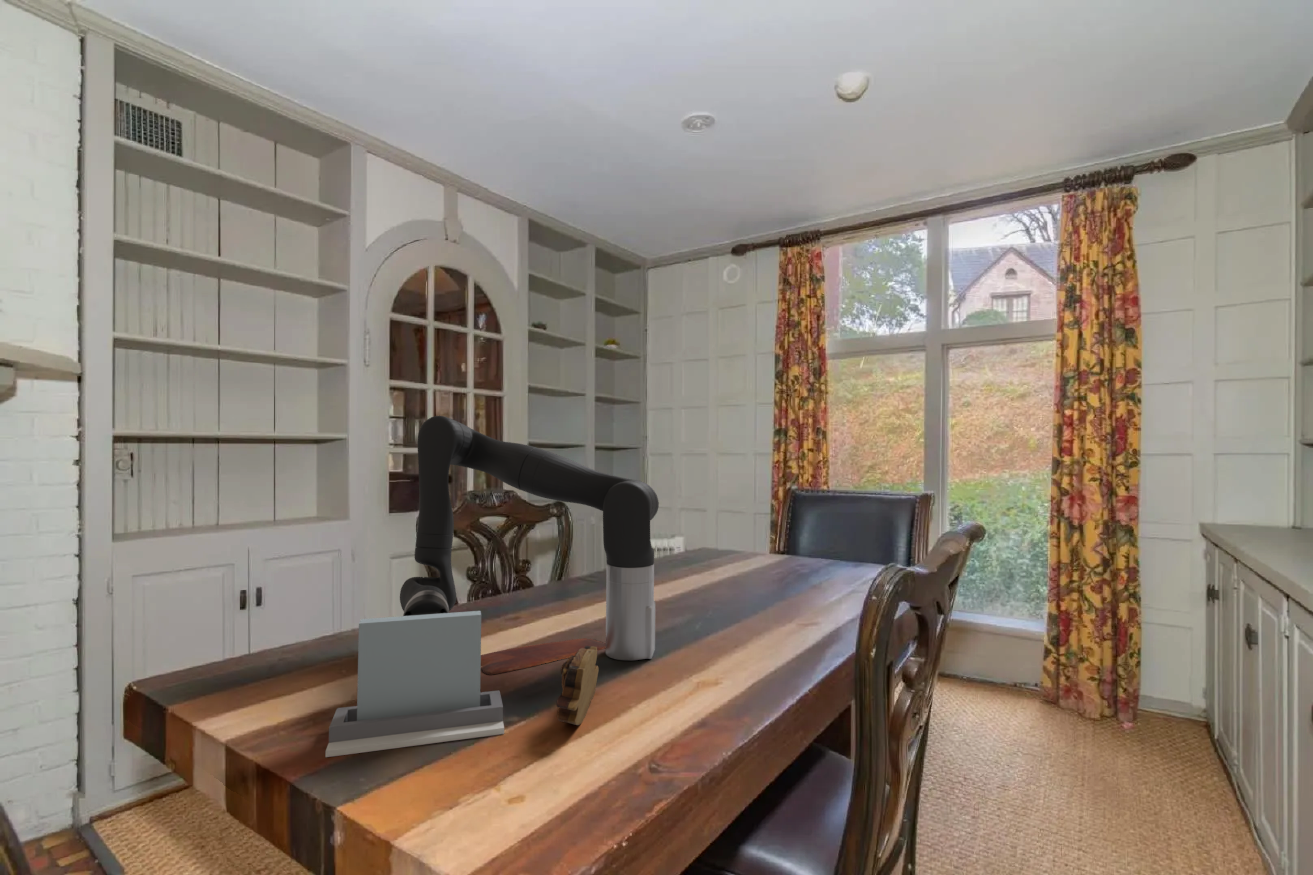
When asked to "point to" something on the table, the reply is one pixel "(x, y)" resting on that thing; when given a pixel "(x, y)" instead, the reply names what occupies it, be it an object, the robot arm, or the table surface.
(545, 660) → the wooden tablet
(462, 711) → the track
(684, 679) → the table surface
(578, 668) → the wooden carving
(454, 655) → the grey panel
